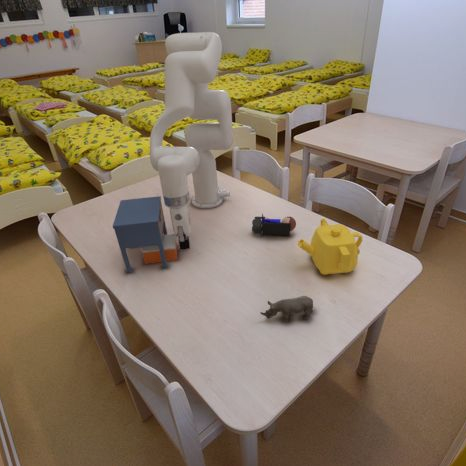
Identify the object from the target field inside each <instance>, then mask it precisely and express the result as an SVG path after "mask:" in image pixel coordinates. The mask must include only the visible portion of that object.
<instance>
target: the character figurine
mask: <svg viewBox="0 0 466 466" xmlns="http://www.w3.org/2000/svg"><path fill="white" fill-rule="evenodd" d="M251 225H252V226H251V232H252V233H253V234H255V235H259V234H261V233H262V234H261V235H262V236H263V237H286V238H287V237H290V236H291V232H292V231H294V230H295V229H296V227H297V221H296V219H295V218H294V217H293V216H289V215H287V216H284V218H282V220H281V218H269V217H266V216H264V214H263V213H262V214H261V216H255V217H254V218H253V219H252V221H251Z"/></svg>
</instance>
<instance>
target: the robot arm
mask: <svg viewBox="0 0 466 466" xmlns="http://www.w3.org/2000/svg"><path fill="white" fill-rule="evenodd" d="M164 44H165V51H166V54H167V56H166V57H165V60H164V109H163V111H162V113H161V114H160V115H159V116H158V117H157V119H156V120H155V122H154V124H153V127H152V128H151V131H150V136H149V159H150V165H151V167H152V168H153V170H155V171H156V172H158V176H159V181H160V186H161V192H162V197H163V203H164V206H165V207H167V208H169V214H170V220H171V226H172V230H173V234H174V235H175V237H176V238H177V240H178V247H179V250H181V251H182V250H183V251H184V250H190V249H191V245H190V244H191V243H190V236H191V234H192V223H191V216H190V210H189V204H190V203H191V204H192V205H193V206H194V207H195V208H198V209H212V208H217V207H218V206H220V205H221V204H222V203H223V201H224V199H223V198H228V197H231V193H230V191H227V190H226V189H223V190H221V189H219V185H218V173H217V163H216V161H217V160H216V158H215V156H214V154H213V153H212V151H228V150H230V149H231V148H232V146H233V144H234V143H233V142H234V135H233V134H234V132H233V114H232V113H233V112H232V103H231V97H230V95H229V93H228V92H227V91H225V90H222V89H209V84H211V83H213V82H214V81H215V79H216V76H217V73H218V71H219V66H220V62H221V59H222V54H223V44H222V40H221V37H220V35H218V34H217V33H216V32H212V31H203V32H202V31H201V32H178V33H173V34H170V35H168V36H167V37H166V38H165V41H164ZM186 118H189V119H191V120H199V121H200V120H201V121H203V120H204V121H206V120H212V121H213V120H214V121H215V120H216V121H217V122H194V123H190V124H188V125H187V126H186V127H185V129H184V134H183V136H184V140H185V141H184V142H185V144H186V146H164V145H163V142H164V137H165V134H166V132H167V131H168V130H169V129H170V128H171V126H173V125H174V124H177V122H179V121H181V120H184V119H186ZM189 175H191V176H192V184H193V190H194V196H192V198H191V197H190V191H189V183H188V176H189Z"/></svg>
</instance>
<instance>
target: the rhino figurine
mask: <svg viewBox="0 0 466 466" xmlns="http://www.w3.org/2000/svg"><path fill="white" fill-rule="evenodd" d="M267 305H268V306H269V308H268V309H265V311H264V312H262V311H260V314H261V315H262V316H264V317H266V319H268V320H269V319H271V318H273V317H276V316H277V315H278V313H282V314H283V316H284V317H283V322H284V323H288V322H289V321H290V315H291V314H292V315H299V314H302V313H303V312H304V315H303V316H302V320H306V321H308V320H309V319H310V315H311V313H314V310H313V308H314V300H313V299H312V298H311V297H309V296H307V295H301V296H298V297H293V298H283V299H279V300H278V301H275V302H273V303H272V302H271V301H269V300H268V301H267Z"/></svg>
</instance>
